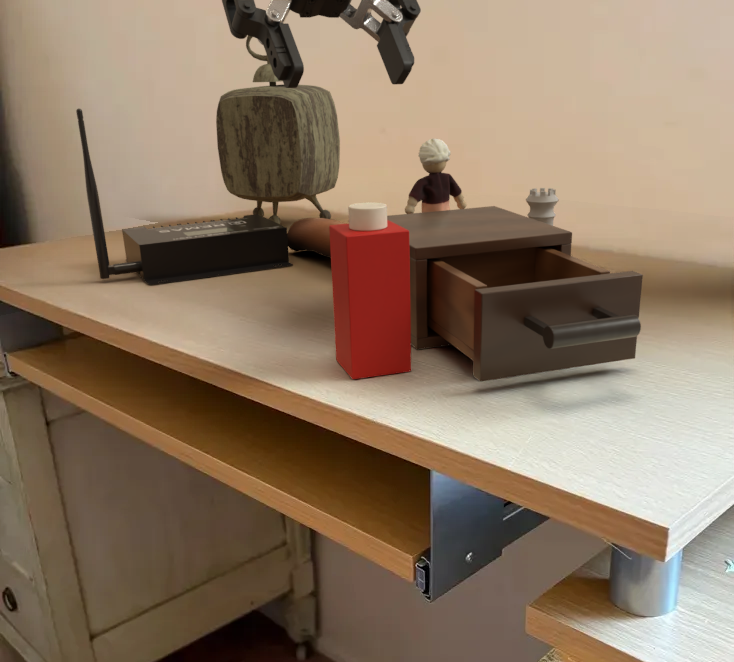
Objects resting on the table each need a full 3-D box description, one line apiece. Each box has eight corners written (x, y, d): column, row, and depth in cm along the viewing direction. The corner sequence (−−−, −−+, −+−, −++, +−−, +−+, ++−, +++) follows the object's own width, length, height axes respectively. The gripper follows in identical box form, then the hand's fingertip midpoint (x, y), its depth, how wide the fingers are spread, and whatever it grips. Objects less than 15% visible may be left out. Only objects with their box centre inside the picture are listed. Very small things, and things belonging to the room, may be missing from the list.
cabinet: (566, 329, 66) (572, 232, 63) (417, 350, 63) (415, 248, 60) (492, 289, 79) (494, 205, 76) (363, 304, 75) (360, 217, 72)
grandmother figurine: (445, 251, 95) (444, 134, 90) (470, 255, 92) (471, 136, 87) (396, 263, 90) (394, 141, 85) (422, 268, 87) (421, 143, 82)
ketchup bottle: (391, 352, 63) (388, 198, 58) (411, 371, 59) (409, 207, 54) (335, 360, 62) (327, 203, 57) (352, 379, 58) (344, 212, 53)
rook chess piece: (512, 273, 84) (515, 192, 81) (521, 263, 88) (524, 186, 85) (557, 275, 82) (561, 193, 79) (564, 265, 86) (569, 186, 83)
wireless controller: (255, 243, 102) (242, 96, 96) (294, 265, 91) (282, 98, 84) (88, 264, 95) (61, 105, 88) (107, 291, 83) (78, 110, 76)
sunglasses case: (437, 263, 86) (410, 212, 83) (391, 307, 85) (360, 257, 81) (346, 238, 101) (319, 193, 97) (305, 276, 99) (276, 231, 95)
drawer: (673, 378, 53) (683, 289, 51) (509, 405, 50) (512, 311, 48) (546, 311, 68) (549, 239, 66) (413, 328, 65) (412, 253, 63)
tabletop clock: (343, 220, 115) (334, 22, 105) (313, 233, 107) (300, 20, 98) (254, 216, 120) (237, 28, 111) (219, 228, 113) (198, 27, 103)
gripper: (198, -161, 55) (272, 41, 52) (383, -142, 61) (460, 39, 58) (179, -67, 62) (243, 118, 58) (348, -59, 68) (415, 108, 64)
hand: (351, 78), depth 58 cm, fingers open, 8 cm apart
